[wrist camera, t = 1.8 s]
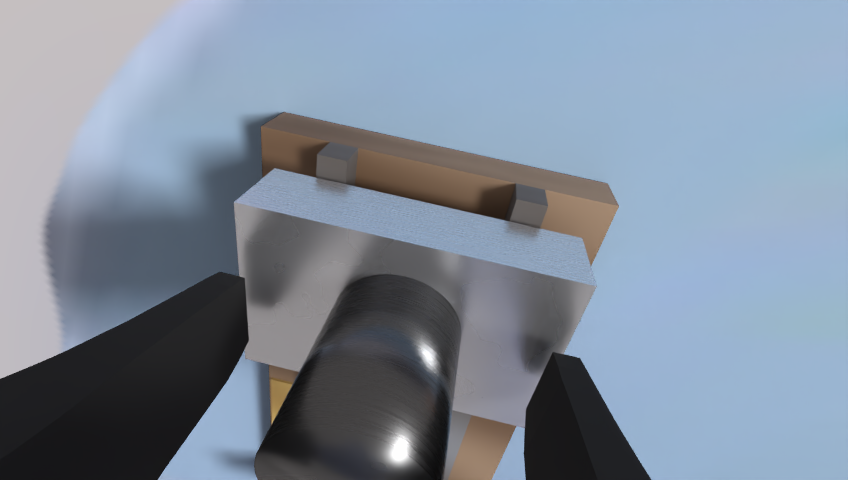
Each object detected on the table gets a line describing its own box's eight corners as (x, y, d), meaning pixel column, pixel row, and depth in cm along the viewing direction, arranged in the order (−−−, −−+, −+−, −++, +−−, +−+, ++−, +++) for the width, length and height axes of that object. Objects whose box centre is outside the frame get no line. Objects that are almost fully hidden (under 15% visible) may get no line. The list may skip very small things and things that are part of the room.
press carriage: (524, 372, 14) (535, 609, 8) (277, 311, 14) (146, 505, 9) (582, 237, 11) (650, 467, 6) (274, 168, 11) (83, 326, 6)
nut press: (466, 506, 23) (457, 640, 18) (285, 459, 23) (231, 578, 19) (607, 183, 13) (665, 300, 8) (284, 112, 13) (165, 184, 9)
